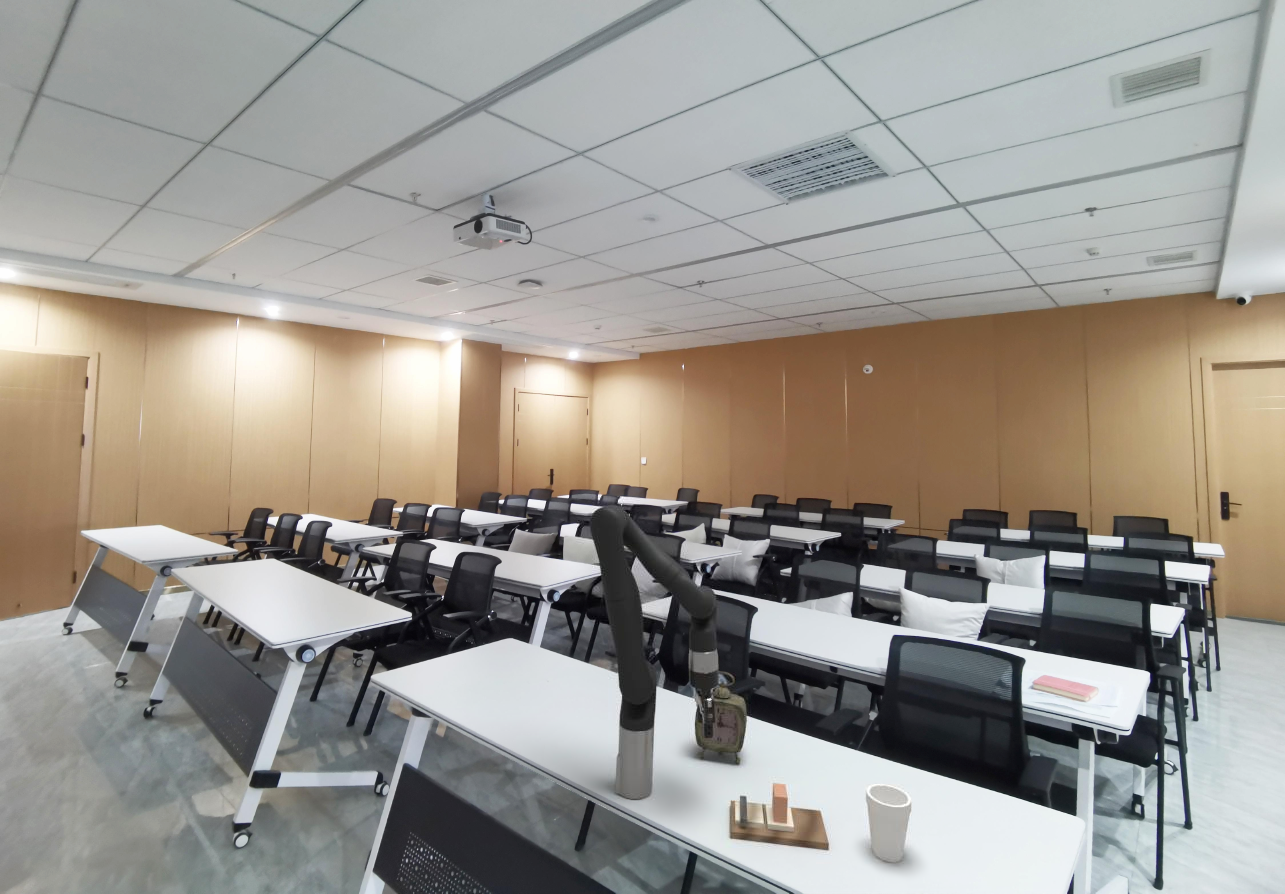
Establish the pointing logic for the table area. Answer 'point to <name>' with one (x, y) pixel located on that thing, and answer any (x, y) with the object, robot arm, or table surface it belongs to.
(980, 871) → the table surface
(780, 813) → the stub
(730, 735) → the tabletop clock
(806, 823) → the stand
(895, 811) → the foam cup
